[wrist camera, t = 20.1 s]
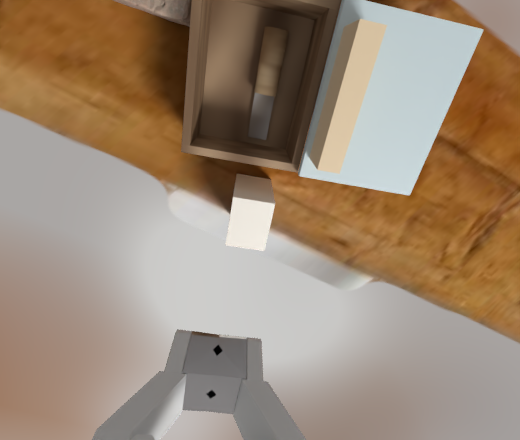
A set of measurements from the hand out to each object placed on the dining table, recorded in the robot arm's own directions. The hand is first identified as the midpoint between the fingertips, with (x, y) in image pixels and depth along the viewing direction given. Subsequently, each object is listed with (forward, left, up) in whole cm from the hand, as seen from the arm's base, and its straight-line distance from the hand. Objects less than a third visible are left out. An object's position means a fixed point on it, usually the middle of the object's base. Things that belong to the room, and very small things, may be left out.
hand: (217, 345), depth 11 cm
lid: (-12, -8, -22) cm, 26 cm away
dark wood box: (0, -8, -29) cm, 30 cm away
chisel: (-1, -8, -28) cm, 29 cm away
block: (-2, +6, -29) cm, 30 cm away
